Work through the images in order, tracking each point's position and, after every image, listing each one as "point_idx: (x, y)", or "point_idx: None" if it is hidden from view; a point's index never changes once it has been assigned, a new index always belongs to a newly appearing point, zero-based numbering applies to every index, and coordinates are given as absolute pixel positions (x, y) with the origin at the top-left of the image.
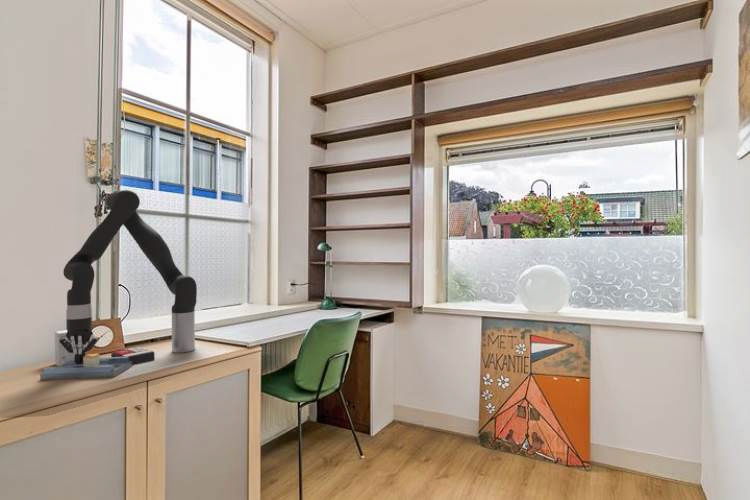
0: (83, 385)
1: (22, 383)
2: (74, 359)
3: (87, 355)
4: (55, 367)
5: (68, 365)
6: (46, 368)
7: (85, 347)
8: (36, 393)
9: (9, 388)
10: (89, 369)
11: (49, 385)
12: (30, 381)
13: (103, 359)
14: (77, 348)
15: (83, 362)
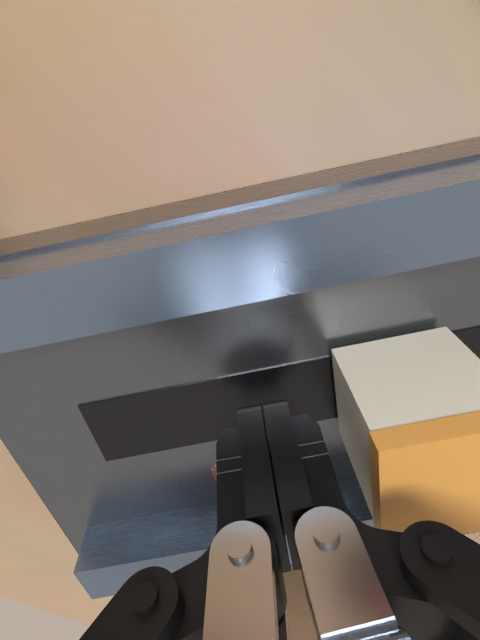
0: (473, 540)
1: (46, 563)
2: (53, 336)
3: (401, 505)
4: (159, 566)
5: (52, 351)
6: (107, 591)
7: (388, 617)
8: (298, 627)
9: (73, 612)
10: None
11: None
12: (54, 537)
13: (472, 250)
14: (226, 626)
15: (287, 403)
